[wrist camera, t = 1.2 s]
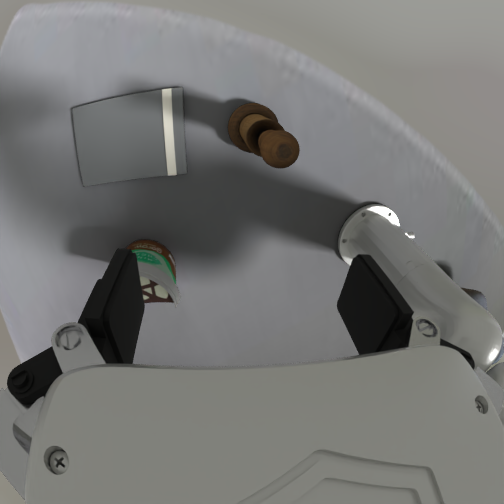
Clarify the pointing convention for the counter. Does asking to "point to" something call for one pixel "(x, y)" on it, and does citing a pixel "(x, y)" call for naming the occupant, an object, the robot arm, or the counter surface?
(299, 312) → the counter surface
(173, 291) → the food container
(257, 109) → the brown wooden turned post
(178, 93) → the mat
